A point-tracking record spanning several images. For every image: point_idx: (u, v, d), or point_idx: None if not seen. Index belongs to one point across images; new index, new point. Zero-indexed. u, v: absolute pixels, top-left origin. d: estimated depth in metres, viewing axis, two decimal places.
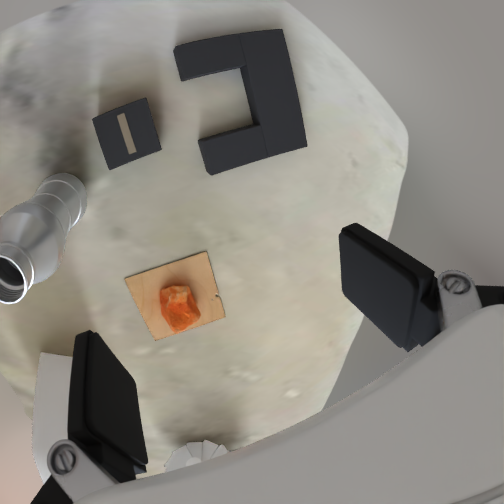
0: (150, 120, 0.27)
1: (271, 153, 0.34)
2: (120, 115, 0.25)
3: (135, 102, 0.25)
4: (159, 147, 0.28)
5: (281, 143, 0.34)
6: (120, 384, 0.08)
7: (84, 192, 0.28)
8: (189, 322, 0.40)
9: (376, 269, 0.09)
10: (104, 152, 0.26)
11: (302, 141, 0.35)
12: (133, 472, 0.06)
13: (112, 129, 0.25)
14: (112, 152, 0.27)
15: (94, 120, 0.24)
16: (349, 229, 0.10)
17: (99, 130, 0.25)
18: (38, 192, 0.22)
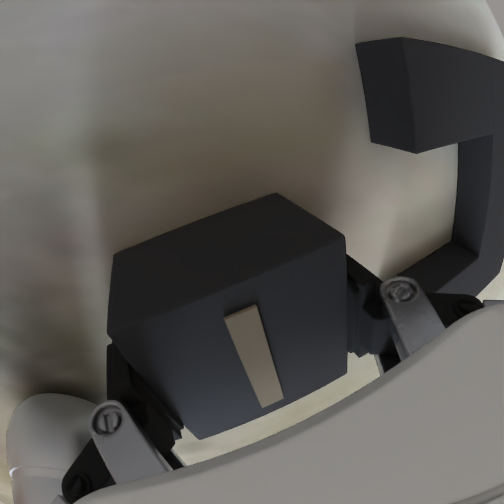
0: (341, 315, 0.08)
1: None
2: (236, 314, 0.07)
3: (304, 258, 0.07)
4: (343, 371, 0.10)
5: (484, 278, 0.16)
6: None
7: None
8: None
9: None
10: (181, 415, 0.08)
11: (499, 267, 0.17)
12: (172, 435, 0.07)
13: (206, 361, 0.07)
14: (208, 413, 0.08)
15: (120, 339, 0.06)
16: None
17: (150, 369, 0.07)
18: None
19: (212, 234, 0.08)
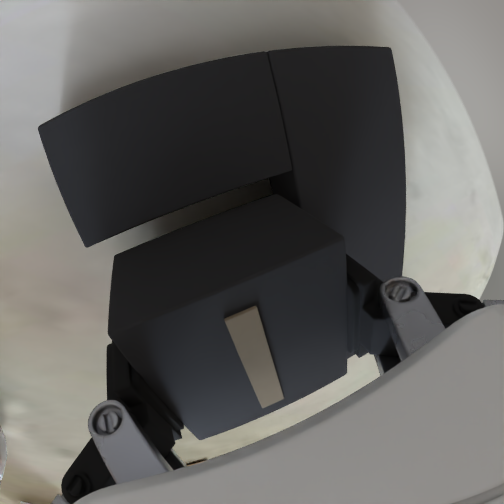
0: (341, 316, 0.08)
1: None
2: (237, 315, 0.07)
3: (304, 259, 0.07)
4: (343, 372, 0.10)
5: None
6: None
7: None
8: None
9: None
10: (182, 416, 0.08)
11: None
12: (172, 435, 0.07)
13: (206, 362, 0.07)
14: (209, 413, 0.08)
15: (121, 340, 0.06)
16: None
17: (151, 370, 0.07)
18: None
19: (212, 235, 0.08)
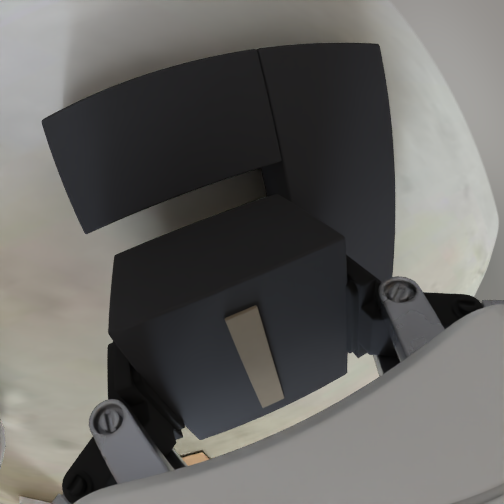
0: (341, 316, 0.08)
1: None
2: (237, 315, 0.07)
3: (305, 259, 0.07)
4: (343, 371, 0.10)
5: None
6: None
7: None
8: None
9: None
10: (182, 415, 0.08)
11: None
12: (173, 435, 0.07)
13: (207, 362, 0.07)
14: (209, 413, 0.08)
15: (122, 339, 0.06)
16: None
17: (151, 369, 0.07)
18: None
19: (213, 235, 0.08)
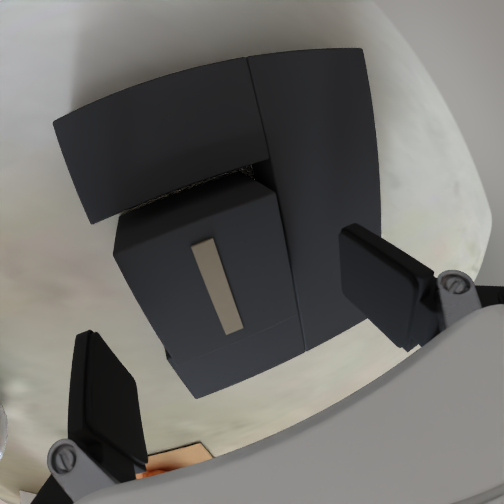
0: (282, 255, 0.11)
1: (312, 344, 0.17)
2: (199, 244, 0.10)
3: (245, 206, 0.10)
4: (294, 311, 0.13)
5: (334, 322, 0.17)
6: (120, 384, 0.08)
7: None
8: None
9: (376, 269, 0.09)
10: (162, 334, 0.11)
11: None
12: (133, 472, 0.06)
13: (179, 281, 0.10)
14: (183, 334, 0.11)
15: (121, 259, 0.09)
16: (349, 229, 0.10)
17: (140, 286, 0.10)
18: None
19: (189, 198, 0.12)
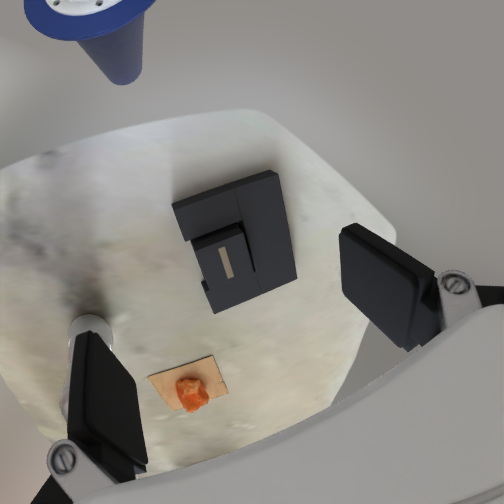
0: (246, 251, 0.36)
1: (265, 290, 0.41)
2: (220, 248, 0.34)
3: (234, 237, 0.34)
4: (252, 271, 0.37)
5: (274, 281, 0.41)
6: (120, 384, 0.08)
7: (110, 333, 0.35)
8: (201, 404, 0.47)
9: (376, 269, 0.09)
10: (207, 277, 0.35)
11: (292, 276, 0.42)
12: (133, 472, 0.06)
13: (214, 259, 0.35)
14: (213, 277, 0.36)
15: (197, 252, 0.33)
16: (349, 229, 0.10)
17: (202, 260, 0.34)
18: None
19: (215, 232, 0.36)
